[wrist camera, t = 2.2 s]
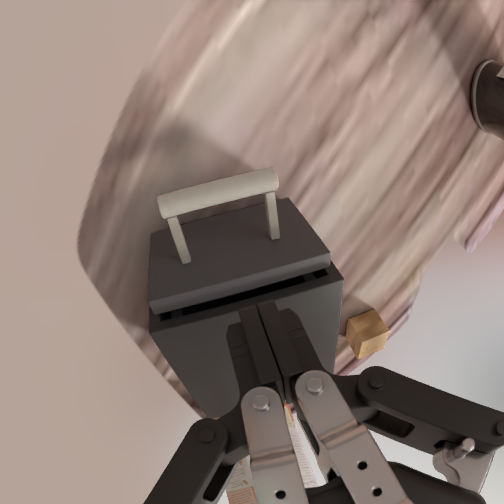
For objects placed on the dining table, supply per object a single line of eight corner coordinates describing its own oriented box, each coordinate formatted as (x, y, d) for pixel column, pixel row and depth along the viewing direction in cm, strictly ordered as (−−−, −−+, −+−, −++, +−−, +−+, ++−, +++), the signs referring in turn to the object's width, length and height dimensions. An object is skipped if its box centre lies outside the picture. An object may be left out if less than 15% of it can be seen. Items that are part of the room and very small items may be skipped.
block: (374, 308, 38) (389, 330, 35) (370, 327, 41) (384, 348, 38) (347, 318, 38) (361, 342, 35) (345, 337, 41) (357, 359, 37)
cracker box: (205, 406, 43) (233, 528, 27) (229, 389, 41) (265, 521, 25) (265, 416, 51) (297, 515, 34) (288, 402, 49) (327, 505, 33)
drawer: (130, 177, 20) (114, 234, 14) (282, 139, 21) (330, 178, 15) (195, 336, 31) (205, 399, 25) (297, 308, 33) (324, 365, 26)
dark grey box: (150, 245, 25) (148, 333, 17) (293, 208, 26) (344, 278, 19) (196, 346, 34) (209, 419, 26) (300, 316, 35) (332, 383, 28)
